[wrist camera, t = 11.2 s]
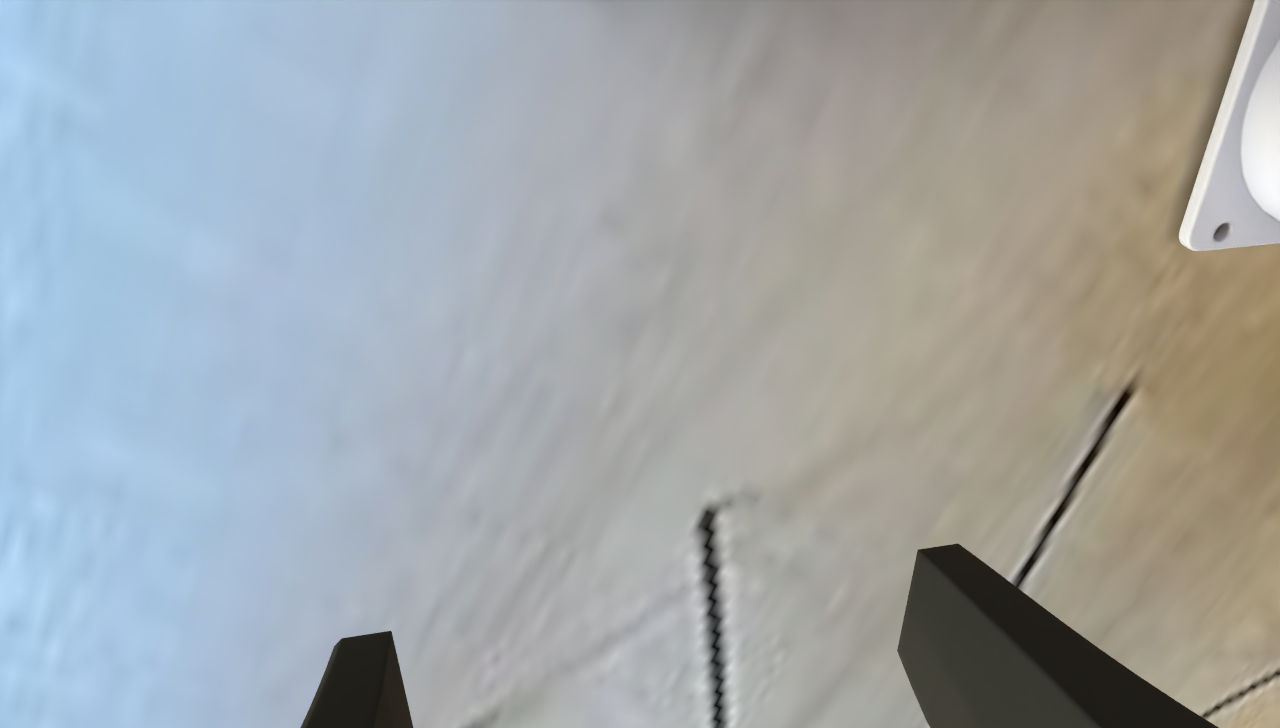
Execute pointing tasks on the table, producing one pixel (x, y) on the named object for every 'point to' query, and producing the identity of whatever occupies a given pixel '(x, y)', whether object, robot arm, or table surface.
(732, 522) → the table surface
